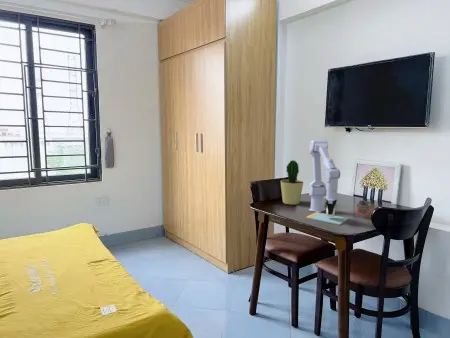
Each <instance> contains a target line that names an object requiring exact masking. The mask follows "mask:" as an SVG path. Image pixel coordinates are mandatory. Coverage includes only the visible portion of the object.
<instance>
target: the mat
mask: <svg viewBox="0 0 450 338" xmlns="http://www.w3.org/2000/svg"><path fill="white" fill-rule="evenodd" d="M305 218H306V219H308V220H314V221H319V222H323V223H328V224H333V225H336V226H341V225H343V224H344V223H346V222H347V221H348V220H349V218H348V217H343V216H339V215H335V216H334V217H329V216H326V213H322V212H313V213H311V214H309V215H307V216H306V217H305Z"/></svg>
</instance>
